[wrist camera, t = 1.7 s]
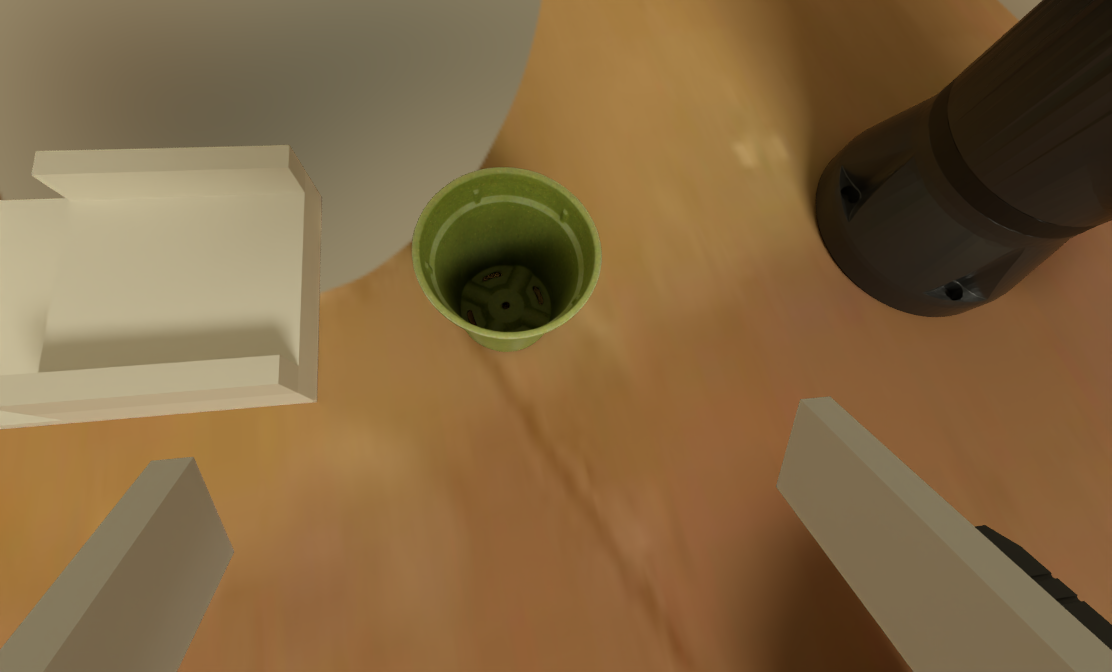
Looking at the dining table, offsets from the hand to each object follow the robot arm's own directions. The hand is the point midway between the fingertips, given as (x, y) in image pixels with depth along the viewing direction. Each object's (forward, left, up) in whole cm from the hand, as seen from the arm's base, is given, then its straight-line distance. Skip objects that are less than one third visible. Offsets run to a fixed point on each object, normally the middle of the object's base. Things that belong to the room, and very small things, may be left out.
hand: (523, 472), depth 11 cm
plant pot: (-7, -9, -20) cm, 23 cm away
